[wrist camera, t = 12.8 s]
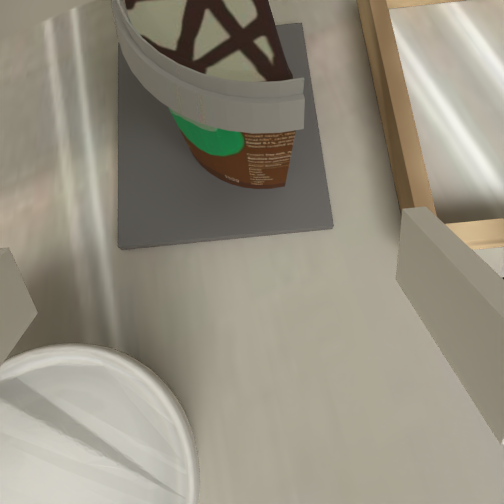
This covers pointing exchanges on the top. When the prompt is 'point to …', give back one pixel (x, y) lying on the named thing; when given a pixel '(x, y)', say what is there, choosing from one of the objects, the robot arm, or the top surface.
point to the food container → (218, 82)
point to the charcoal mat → (205, 184)
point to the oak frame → (409, 122)
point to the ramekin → (92, 431)
